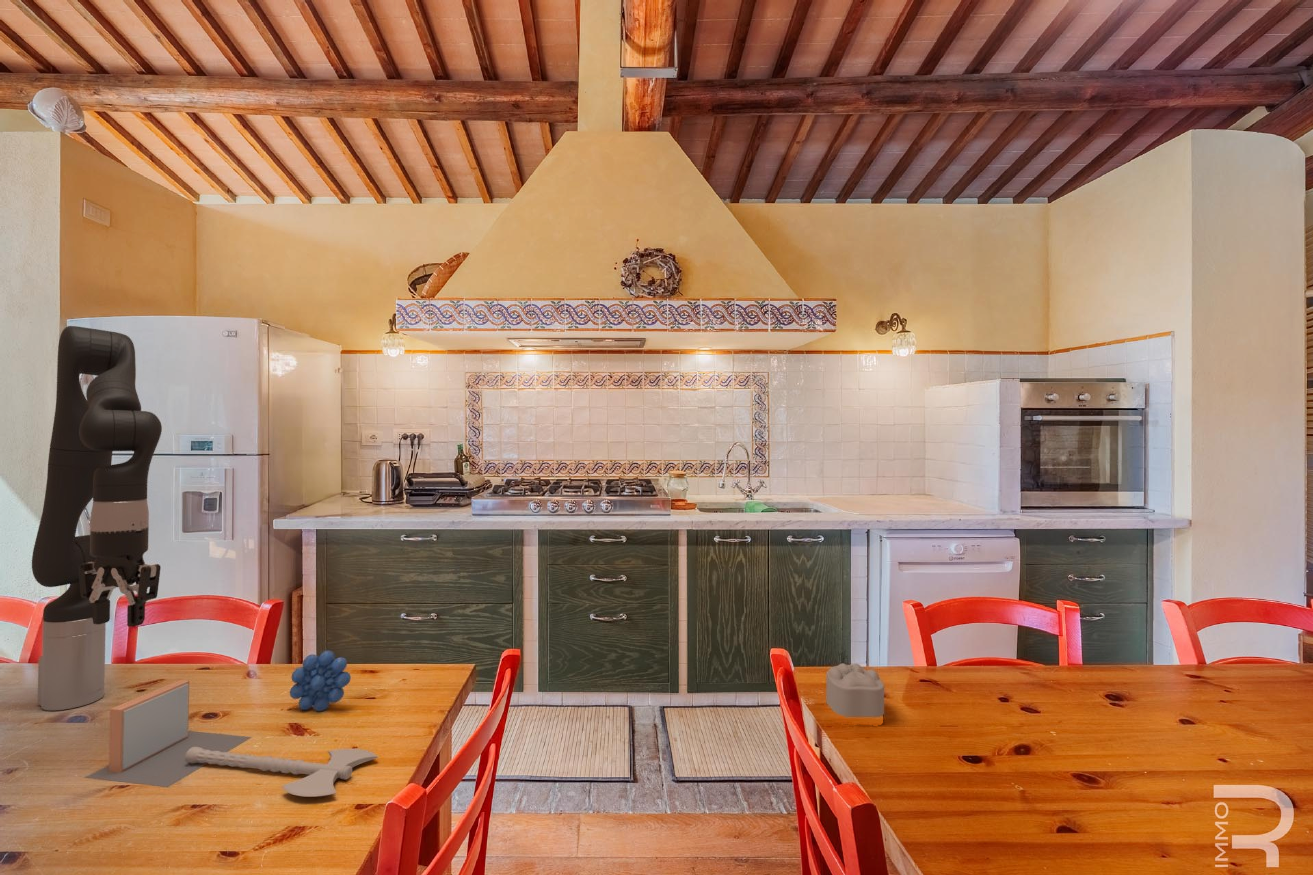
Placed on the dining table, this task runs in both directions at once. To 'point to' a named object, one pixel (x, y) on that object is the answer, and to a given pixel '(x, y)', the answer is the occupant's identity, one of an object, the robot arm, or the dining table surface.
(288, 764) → the double-bladed axe
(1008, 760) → the dining table surface
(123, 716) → the tile
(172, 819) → the dining table surface
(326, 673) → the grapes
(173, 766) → the mat
